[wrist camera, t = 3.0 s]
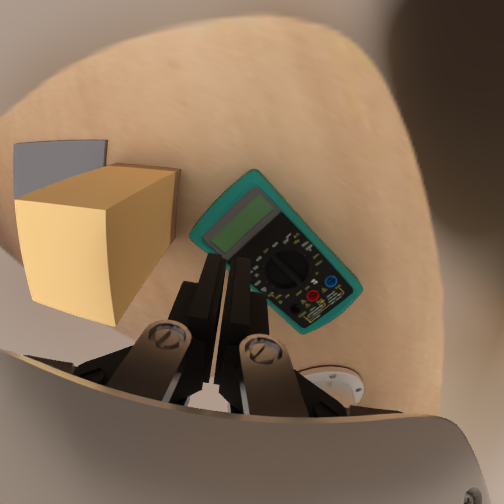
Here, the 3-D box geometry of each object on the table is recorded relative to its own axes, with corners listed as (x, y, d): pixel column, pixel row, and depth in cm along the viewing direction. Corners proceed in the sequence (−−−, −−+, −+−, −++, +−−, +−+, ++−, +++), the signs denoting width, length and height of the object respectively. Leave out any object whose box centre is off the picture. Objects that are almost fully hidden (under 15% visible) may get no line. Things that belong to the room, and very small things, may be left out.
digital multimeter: (302, 324, 27) (307, 343, 25) (190, 225, 23) (182, 238, 20) (360, 280, 25) (370, 297, 22) (252, 163, 21) (252, 167, 18)
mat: (106, 251, 24) (104, 253, 23) (20, 234, 23) (18, 235, 23) (107, 140, 19) (105, 140, 19) (16, 143, 19) (13, 144, 18)
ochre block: (174, 238, 23) (115, 326, 12) (114, 228, 23) (32, 300, 12) (180, 169, 21) (105, 210, 10) (115, 163, 20) (14, 199, 9)
